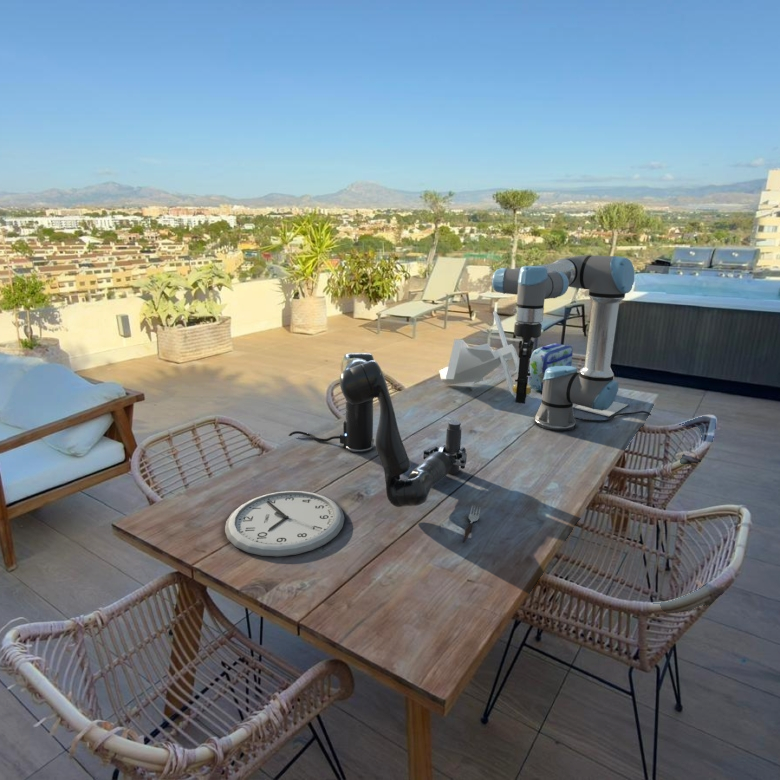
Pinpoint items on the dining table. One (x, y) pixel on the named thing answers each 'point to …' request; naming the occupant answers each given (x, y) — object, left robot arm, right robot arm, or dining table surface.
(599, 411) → the invitation card
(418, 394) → the dining table surface
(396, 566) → the dining table surface
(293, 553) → the wall clock
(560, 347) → the lunch box
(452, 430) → the dark grey cylinder
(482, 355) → the white plastic object
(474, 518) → the fork
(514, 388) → the lid
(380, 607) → the dining table surface
